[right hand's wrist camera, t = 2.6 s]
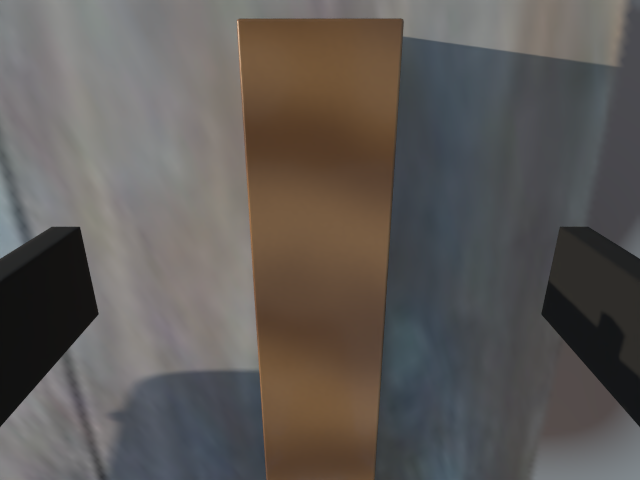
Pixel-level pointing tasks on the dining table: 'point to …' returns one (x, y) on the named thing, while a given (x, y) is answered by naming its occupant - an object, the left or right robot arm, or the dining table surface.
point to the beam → (320, 233)
